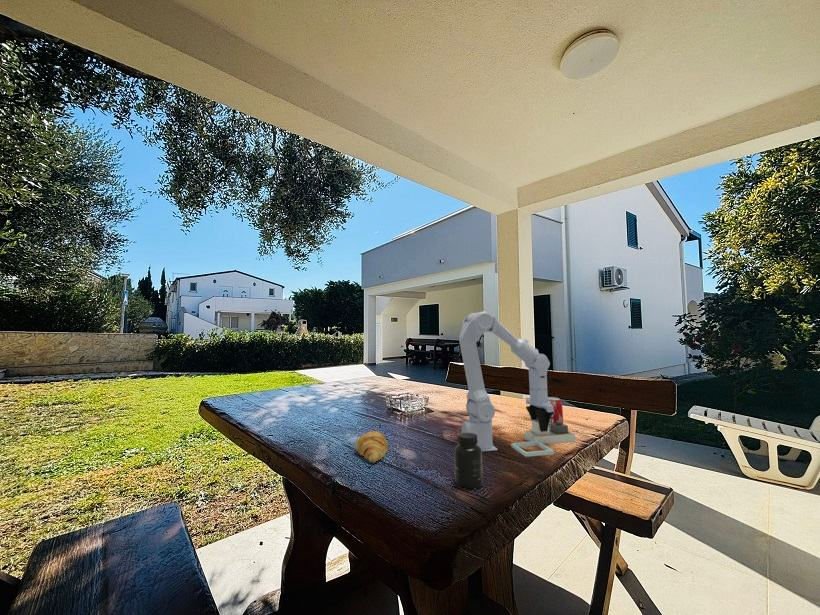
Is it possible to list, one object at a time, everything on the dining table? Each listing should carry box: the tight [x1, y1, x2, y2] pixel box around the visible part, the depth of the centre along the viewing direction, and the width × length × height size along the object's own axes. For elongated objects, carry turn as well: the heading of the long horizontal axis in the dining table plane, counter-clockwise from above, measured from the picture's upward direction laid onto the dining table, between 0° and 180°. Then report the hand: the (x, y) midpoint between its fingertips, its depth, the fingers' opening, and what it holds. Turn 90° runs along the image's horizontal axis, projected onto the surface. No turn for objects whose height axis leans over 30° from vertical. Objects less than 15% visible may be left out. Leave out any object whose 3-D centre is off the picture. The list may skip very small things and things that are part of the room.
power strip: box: [523, 429, 576, 445], centre depth 121 cm, size 14×7×3 cm, turn 100°
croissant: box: [354, 430, 389, 463], centre depth 114 cm, size 21×10×8 cm, turn 10°
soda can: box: [548, 396, 564, 429], centre depth 134 cm, size 7×7×12 cm
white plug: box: [531, 417, 550, 436], centre depth 121 cm, size 4×4×6 cm
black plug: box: [550, 420, 569, 434], centre depth 122 cm, size 4×4×6 cm
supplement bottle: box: [453, 432, 484, 490], centre depth 89 cm, size 7×7×12 cm
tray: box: [510, 441, 555, 457], centre depth 111 cm, size 9×9×2 cm
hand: (540, 429), depth 121 cm, fingers closed on white plug, 4 cm apart
